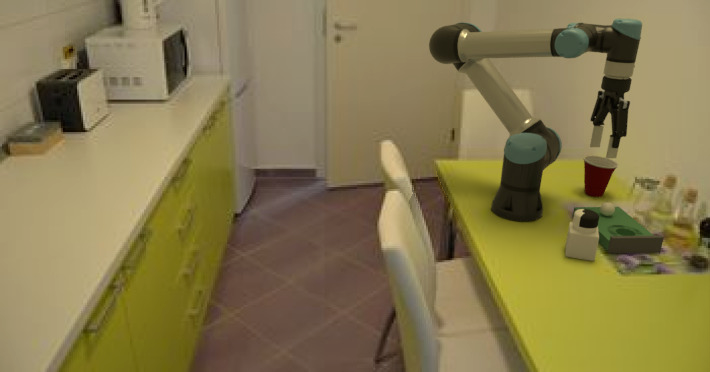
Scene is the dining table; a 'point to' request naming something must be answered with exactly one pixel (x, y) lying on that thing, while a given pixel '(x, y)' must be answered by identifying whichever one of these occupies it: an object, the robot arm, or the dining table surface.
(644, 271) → the dining table surface
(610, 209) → the ball
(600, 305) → the dining table surface
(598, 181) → the plastic cup
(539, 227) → the dining table surface
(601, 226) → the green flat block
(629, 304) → the dining table surface
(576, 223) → the medicine bottle
